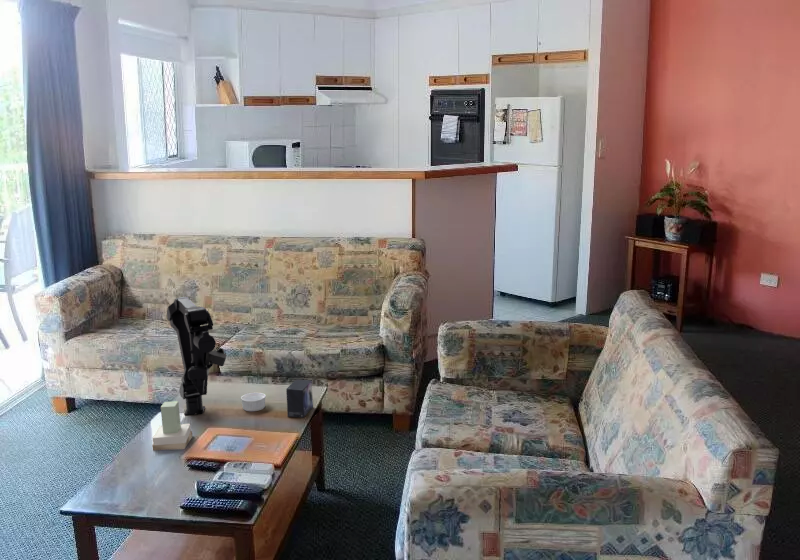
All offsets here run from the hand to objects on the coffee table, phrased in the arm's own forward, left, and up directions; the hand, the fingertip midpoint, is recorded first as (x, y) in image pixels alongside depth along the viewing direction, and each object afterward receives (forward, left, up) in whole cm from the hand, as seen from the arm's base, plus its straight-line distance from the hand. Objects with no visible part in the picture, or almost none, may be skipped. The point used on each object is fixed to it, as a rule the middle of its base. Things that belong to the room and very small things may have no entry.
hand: (203, 389), depth 254 cm
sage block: (+13, -9, -9) cm, 18 cm away
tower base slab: (+13, -9, -14) cm, 21 cm away
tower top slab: (+13, -9, -11) cm, 19 cm away
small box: (-6, +32, -13) cm, 35 cm away
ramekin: (-14, +15, -13) cm, 25 cm away
